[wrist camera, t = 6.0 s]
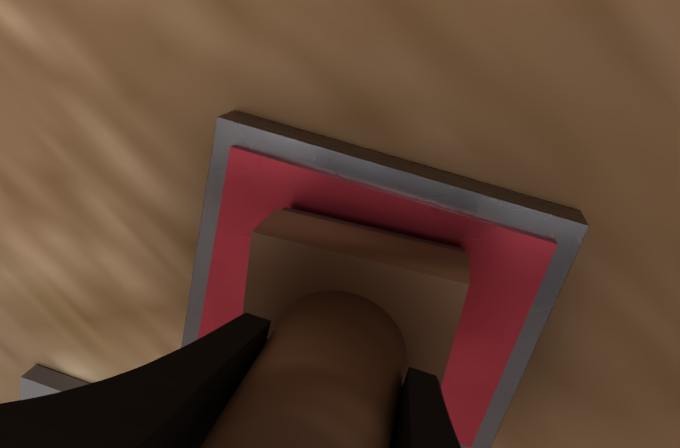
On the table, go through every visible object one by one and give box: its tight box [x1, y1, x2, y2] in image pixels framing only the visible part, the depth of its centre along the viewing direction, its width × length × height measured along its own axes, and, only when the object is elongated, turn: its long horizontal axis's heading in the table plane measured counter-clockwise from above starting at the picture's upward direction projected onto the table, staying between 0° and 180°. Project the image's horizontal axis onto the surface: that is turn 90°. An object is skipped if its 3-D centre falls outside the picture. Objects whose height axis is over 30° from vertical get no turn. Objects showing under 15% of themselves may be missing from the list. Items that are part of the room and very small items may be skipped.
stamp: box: [200, 207, 470, 448], centre depth 12 cm, size 5×5×8 cm
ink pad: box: [181, 110, 589, 448], centre depth 17 cm, size 10×8×2 cm
